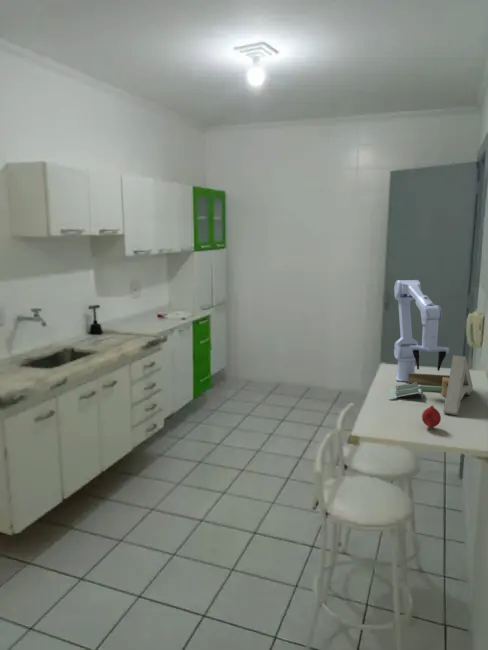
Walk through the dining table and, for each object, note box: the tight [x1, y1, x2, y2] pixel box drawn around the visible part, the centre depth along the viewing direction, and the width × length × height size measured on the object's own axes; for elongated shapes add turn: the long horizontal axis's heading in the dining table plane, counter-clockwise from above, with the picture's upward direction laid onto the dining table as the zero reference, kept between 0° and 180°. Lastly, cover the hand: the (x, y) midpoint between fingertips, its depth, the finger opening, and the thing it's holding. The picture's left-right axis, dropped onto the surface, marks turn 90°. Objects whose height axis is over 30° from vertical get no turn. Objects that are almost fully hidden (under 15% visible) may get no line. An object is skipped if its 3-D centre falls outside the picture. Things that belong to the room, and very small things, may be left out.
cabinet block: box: [441, 377, 449, 398], centre depth 203 cm, size 6×4×6 cm
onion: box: [421, 405, 442, 429], centre depth 167 cm, size 6×6×8 cm
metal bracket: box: [388, 382, 426, 401], centre depth 203 cm, size 14×6×15 cm
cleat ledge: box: [417, 384, 442, 393], centre depth 212 cm, size 7×16×2 cm, turn 73°
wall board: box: [407, 372, 450, 386], centre depth 215 cm, size 2×18×5 cm, turn 73°
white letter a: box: [443, 354, 473, 416], centre depth 195 cm, size 22×4×30 cm
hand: (428, 369), depth 204 cm, fingers open, 7 cm apart
